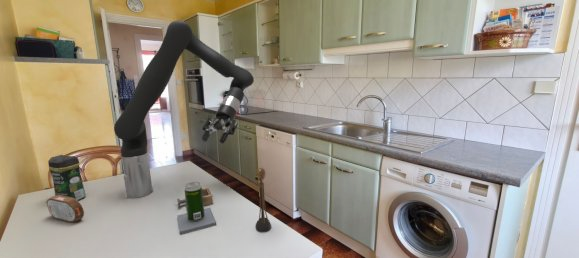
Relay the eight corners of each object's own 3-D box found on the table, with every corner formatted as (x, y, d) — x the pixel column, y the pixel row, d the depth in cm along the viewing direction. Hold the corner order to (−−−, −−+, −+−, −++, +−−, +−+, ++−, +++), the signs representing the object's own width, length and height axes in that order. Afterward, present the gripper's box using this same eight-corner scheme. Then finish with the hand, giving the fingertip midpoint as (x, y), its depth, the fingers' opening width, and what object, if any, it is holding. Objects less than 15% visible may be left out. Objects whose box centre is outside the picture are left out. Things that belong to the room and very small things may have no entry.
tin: (86, 220, 90) (82, 197, 88) (76, 225, 87) (71, 202, 86) (58, 214, 95) (53, 192, 93) (47, 218, 92) (42, 196, 90)
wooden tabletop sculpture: (266, 235, 79) (263, 172, 75) (252, 233, 80) (248, 171, 76) (272, 224, 84) (270, 165, 80) (259, 222, 86) (256, 164, 82)
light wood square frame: (179, 212, 94) (178, 203, 93) (177, 202, 102) (176, 193, 101) (213, 204, 99) (212, 195, 99) (209, 195, 107) (208, 187, 106)
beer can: (207, 218, 87) (204, 184, 85) (191, 224, 84) (187, 189, 81) (201, 212, 91) (197, 180, 89) (185, 218, 88) (181, 184, 86)
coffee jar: (52, 202, 104) (42, 157, 101) (73, 193, 112) (65, 152, 108) (68, 205, 101) (59, 159, 98) (89, 196, 109) (81, 153, 105)
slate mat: (180, 234, 80) (179, 231, 80) (177, 218, 90) (177, 215, 90) (216, 224, 85) (216, 222, 85) (210, 210, 95) (210, 207, 95)
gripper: (210, 103, 111) (193, 134, 103) (238, 104, 105) (222, 137, 97) (219, 113, 116) (203, 144, 108) (246, 115, 111) (231, 148, 103)
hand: (212, 141), depth 103 cm, fingers open, 8 cm apart
